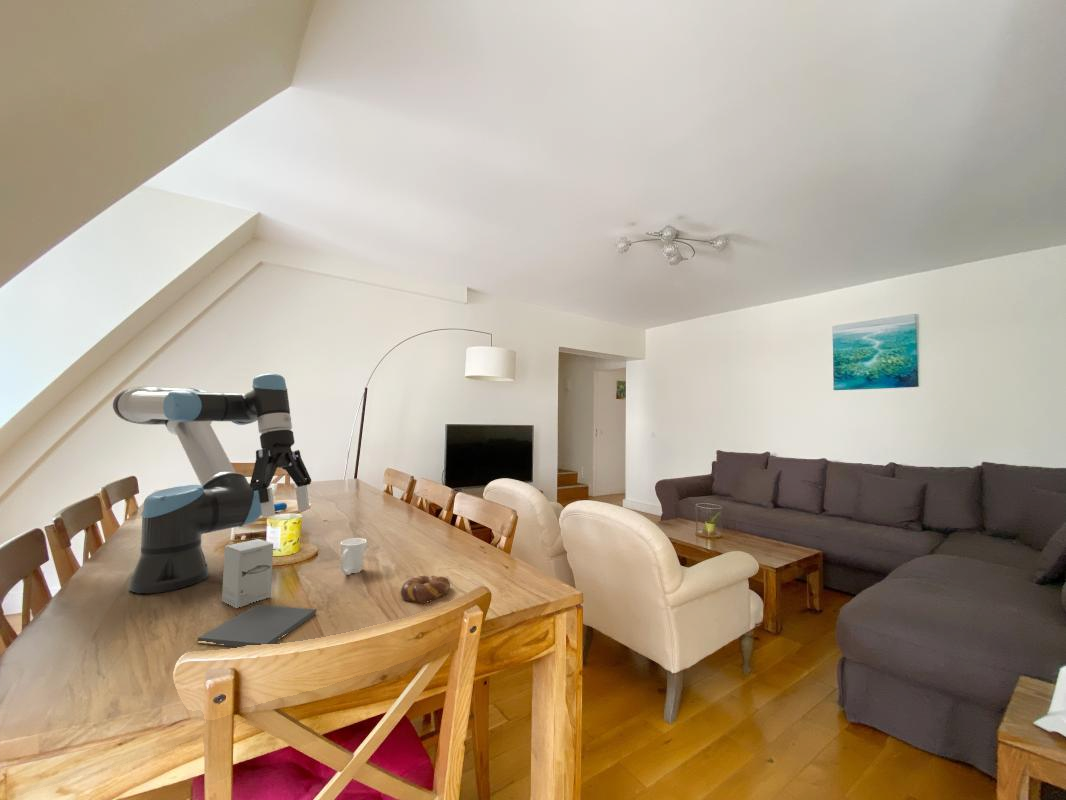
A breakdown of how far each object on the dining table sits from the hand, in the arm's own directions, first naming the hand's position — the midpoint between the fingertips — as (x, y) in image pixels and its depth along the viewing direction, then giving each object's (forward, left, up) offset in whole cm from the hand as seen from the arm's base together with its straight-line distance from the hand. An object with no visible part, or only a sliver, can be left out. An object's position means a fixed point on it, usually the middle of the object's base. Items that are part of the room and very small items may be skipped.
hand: (287, 513), depth 107 cm
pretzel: (+37, 0, -18) cm, 41 cm away
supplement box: (-2, -10, -18) cm, 20 cm away
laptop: (+11, -21, -18) cm, 29 cm away
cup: (+12, +9, -18) cm, 23 cm away
